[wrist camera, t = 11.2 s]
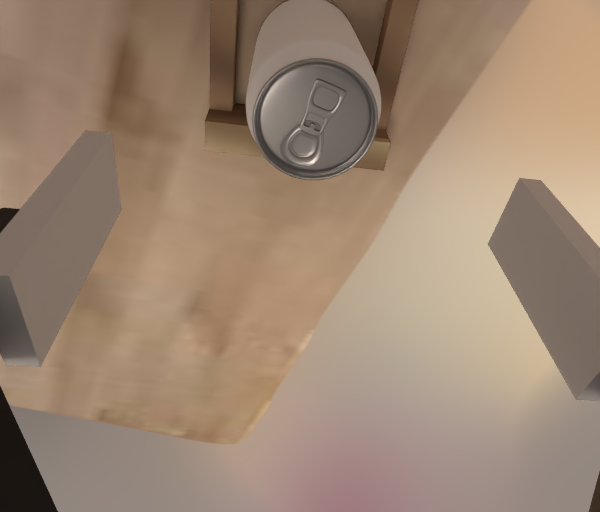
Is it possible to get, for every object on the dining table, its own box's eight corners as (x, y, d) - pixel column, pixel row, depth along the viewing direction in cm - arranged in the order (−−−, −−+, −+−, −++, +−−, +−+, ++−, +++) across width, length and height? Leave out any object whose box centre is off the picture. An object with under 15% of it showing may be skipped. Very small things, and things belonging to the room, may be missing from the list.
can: (241, 77, 31) (222, 159, 22) (278, -25, 27) (275, 19, 18) (328, 115, 33) (346, 206, 23) (374, 23, 29) (416, 86, 20)
